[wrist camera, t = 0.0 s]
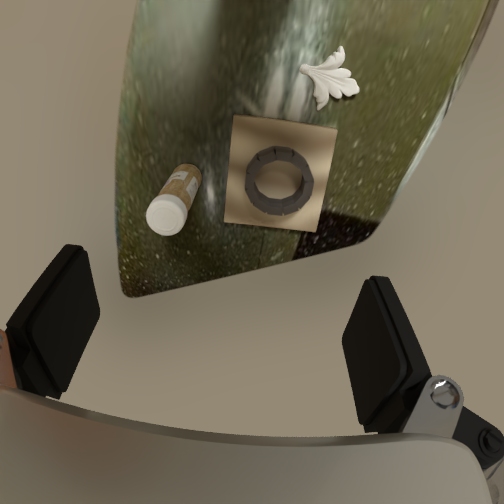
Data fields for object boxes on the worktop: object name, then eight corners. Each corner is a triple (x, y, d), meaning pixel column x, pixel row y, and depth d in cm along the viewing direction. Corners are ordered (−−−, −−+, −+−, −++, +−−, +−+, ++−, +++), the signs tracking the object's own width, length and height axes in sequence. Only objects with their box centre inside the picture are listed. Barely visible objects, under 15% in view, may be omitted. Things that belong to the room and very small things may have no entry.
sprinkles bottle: (179, 157, 45) (152, 194, 34) (207, 170, 46) (190, 211, 35) (167, 184, 47) (140, 227, 36) (195, 196, 48) (175, 243, 37)
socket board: (234, 114, 41) (231, 119, 38) (335, 128, 42) (342, 135, 38) (224, 217, 50) (221, 231, 46) (314, 227, 51) (318, 242, 47)
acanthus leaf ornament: (339, 46, 36) (343, 45, 34) (362, 88, 39) (366, 89, 38) (292, 68, 38) (294, 68, 37) (316, 110, 41) (319, 112, 40)
